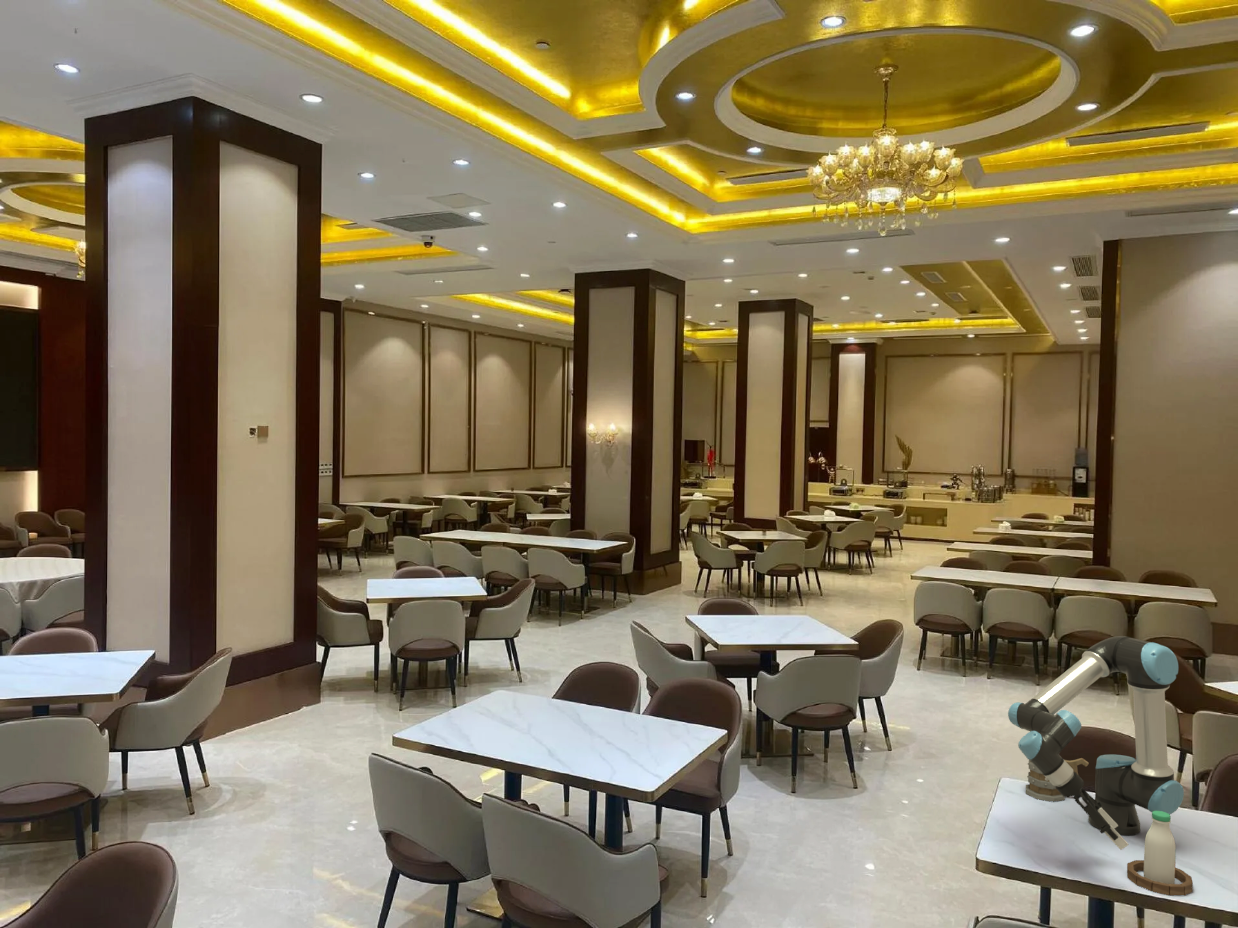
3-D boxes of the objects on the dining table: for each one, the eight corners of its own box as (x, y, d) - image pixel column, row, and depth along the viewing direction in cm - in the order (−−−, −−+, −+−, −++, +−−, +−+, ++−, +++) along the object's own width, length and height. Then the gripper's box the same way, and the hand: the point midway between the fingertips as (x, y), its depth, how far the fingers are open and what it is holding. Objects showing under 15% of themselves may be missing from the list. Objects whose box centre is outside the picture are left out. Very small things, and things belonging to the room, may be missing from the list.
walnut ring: (1126, 863, 269) (1126, 855, 269) (1189, 876, 261) (1189, 868, 261) (1127, 885, 255) (1128, 877, 255) (1194, 900, 247) (1194, 891, 247)
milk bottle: (1174, 890, 252) (1177, 820, 252) (1143, 883, 256) (1145, 814, 256) (1174, 880, 259) (1176, 811, 259) (1143, 872, 263) (1145, 805, 263)
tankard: (1025, 797, 319) (1027, 755, 319) (1025, 785, 331) (1026, 745, 331) (1088, 808, 311) (1090, 765, 311) (1086, 795, 323) (1087, 754, 322)
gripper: (1048, 772, 278) (1100, 827, 274) (1060, 801, 254) (1118, 862, 250) (1067, 757, 276) (1120, 813, 272) (1082, 785, 253) (1140, 847, 248)
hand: (1119, 837), depth 261 cm, fingers open, 13 cm apart
